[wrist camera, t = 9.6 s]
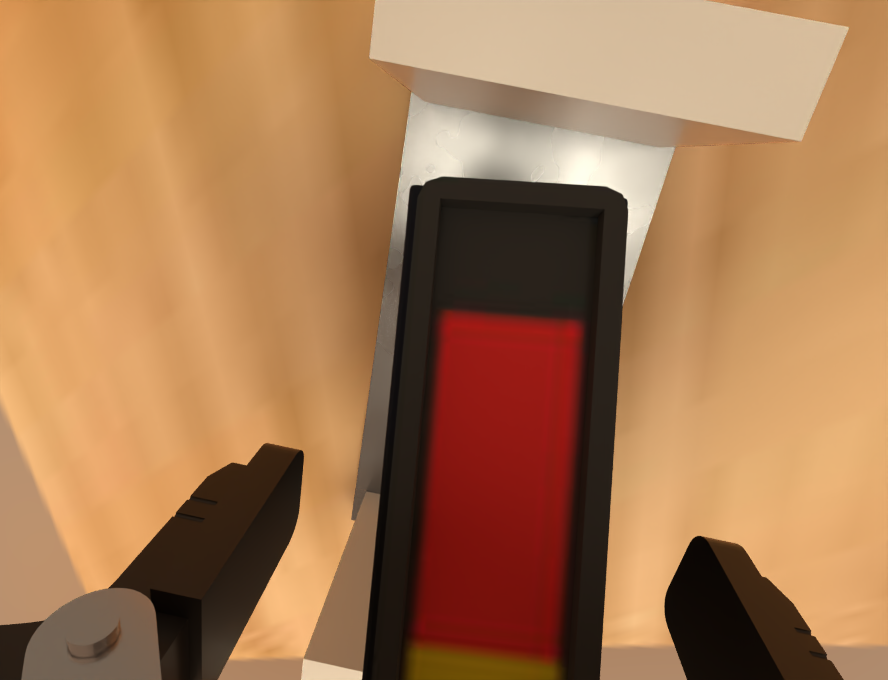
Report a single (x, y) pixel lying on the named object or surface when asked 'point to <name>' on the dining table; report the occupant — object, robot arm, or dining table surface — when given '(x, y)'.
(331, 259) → the dining table surface
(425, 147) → the rail plate
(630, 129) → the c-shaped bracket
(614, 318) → the magazine
